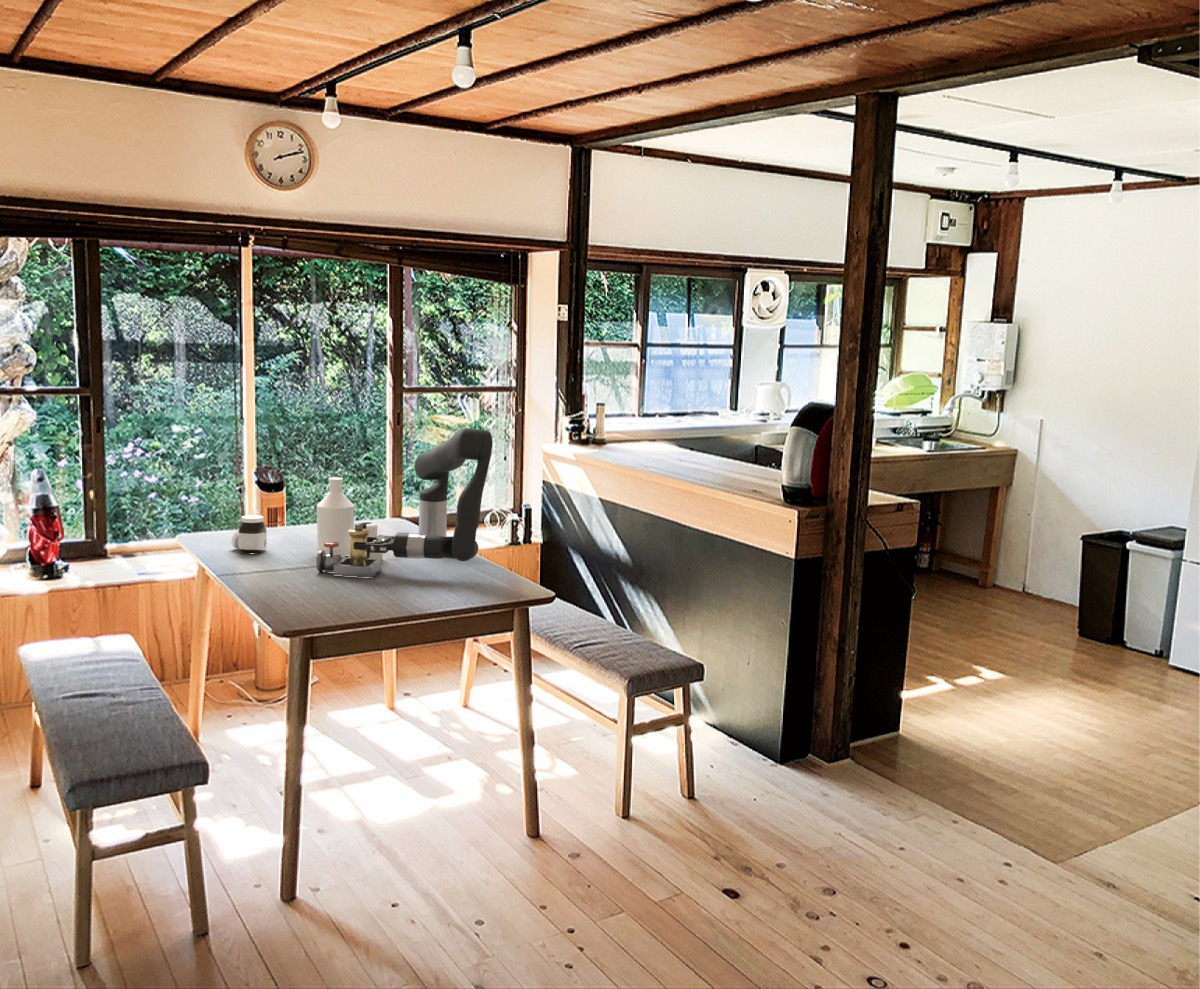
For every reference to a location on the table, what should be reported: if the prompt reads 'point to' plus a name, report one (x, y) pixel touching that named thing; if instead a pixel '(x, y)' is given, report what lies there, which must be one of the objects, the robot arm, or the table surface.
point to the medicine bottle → (372, 533)
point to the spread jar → (251, 535)
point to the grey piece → (345, 564)
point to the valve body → (358, 536)
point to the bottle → (335, 519)
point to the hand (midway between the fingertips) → (358, 542)
